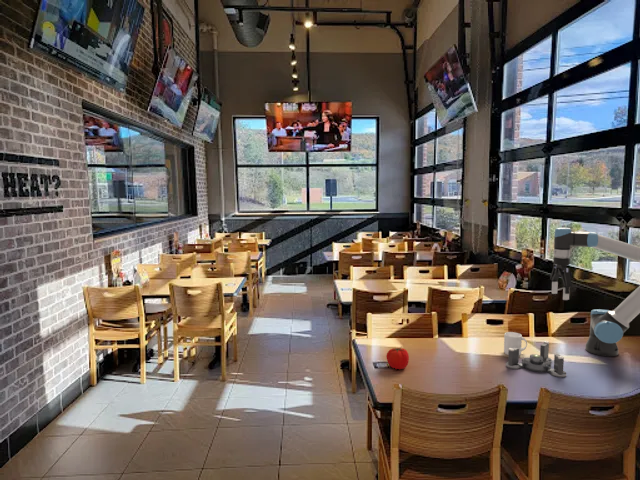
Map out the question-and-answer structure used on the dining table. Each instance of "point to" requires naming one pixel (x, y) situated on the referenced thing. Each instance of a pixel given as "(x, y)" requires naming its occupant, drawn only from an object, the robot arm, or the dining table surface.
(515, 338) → the mug
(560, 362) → the knob
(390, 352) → the tomato
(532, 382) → the dining table surface
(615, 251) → the robot arm
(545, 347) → the knob
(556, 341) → the dining table surface
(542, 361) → the tribrach
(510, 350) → the dark grey angled finger
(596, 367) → the dining table surface
